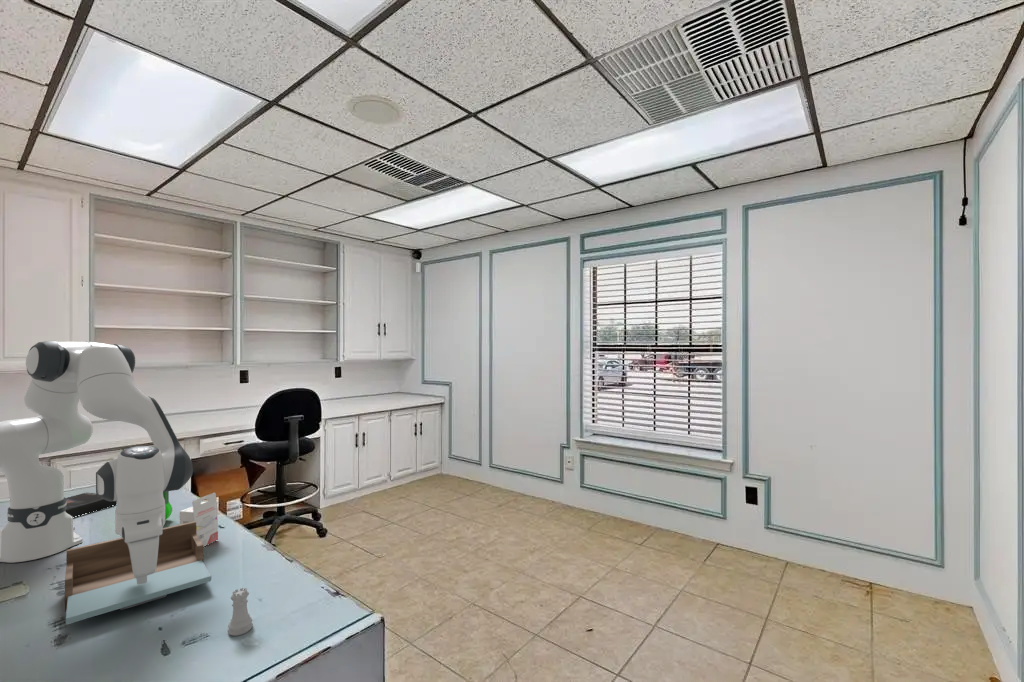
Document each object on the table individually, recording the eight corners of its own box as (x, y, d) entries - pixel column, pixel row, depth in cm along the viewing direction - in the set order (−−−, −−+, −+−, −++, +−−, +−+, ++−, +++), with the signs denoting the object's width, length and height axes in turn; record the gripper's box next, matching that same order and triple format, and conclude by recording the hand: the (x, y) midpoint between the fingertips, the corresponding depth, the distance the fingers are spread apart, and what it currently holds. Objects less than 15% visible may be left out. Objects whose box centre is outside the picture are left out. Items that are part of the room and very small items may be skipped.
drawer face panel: (67, 596, 104) (65, 618, 95) (202, 560, 121) (210, 575, 112) (68, 605, 104) (65, 628, 95) (202, 568, 120) (211, 584, 112)
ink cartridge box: (204, 539, 142) (203, 491, 143) (218, 540, 142) (217, 491, 142) (179, 552, 134) (178, 500, 134) (194, 553, 133) (193, 501, 133)
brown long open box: (67, 591, 113) (66, 549, 113) (196, 557, 131) (195, 521, 131) (65, 612, 104) (64, 566, 104) (203, 572, 122) (203, 533, 122)
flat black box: (29, 518, 165) (29, 507, 165) (86, 502, 181) (86, 492, 181) (61, 523, 160) (61, 511, 160) (116, 506, 176) (116, 495, 176)
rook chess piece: (234, 624, 98) (233, 586, 98) (256, 623, 99) (256, 584, 99) (223, 637, 94) (222, 597, 94) (246, 636, 94) (245, 596, 94)
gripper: (120, 511, 112) (121, 569, 112) (125, 537, 96) (125, 605, 96) (153, 505, 116) (154, 561, 116) (163, 529, 101) (164, 594, 101)
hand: (141, 581), depth 106 cm, fingers closed
